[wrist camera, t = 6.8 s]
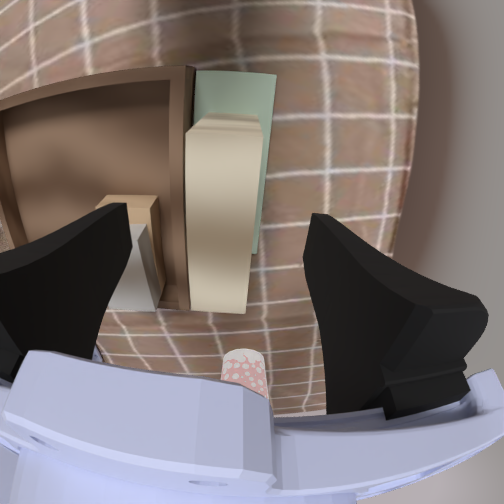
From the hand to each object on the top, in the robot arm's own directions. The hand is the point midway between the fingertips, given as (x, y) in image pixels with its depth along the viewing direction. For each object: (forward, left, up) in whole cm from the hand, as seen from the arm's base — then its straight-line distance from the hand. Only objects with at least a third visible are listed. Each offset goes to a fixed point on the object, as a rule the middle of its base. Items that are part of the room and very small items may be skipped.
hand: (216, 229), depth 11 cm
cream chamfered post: (-1, 0, -9) cm, 9 cm away
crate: (-2, +11, -9) cm, 14 cm away
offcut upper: (-7, +7, -6) cm, 11 cm away
